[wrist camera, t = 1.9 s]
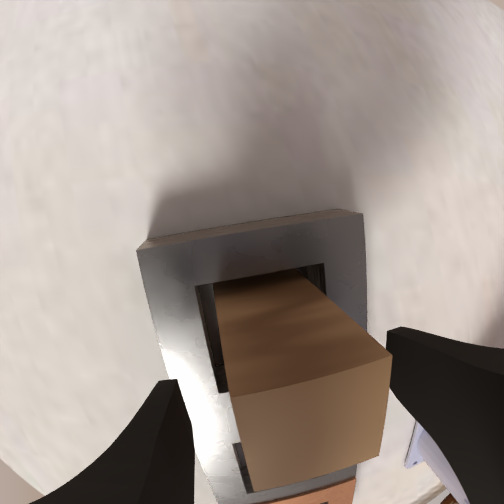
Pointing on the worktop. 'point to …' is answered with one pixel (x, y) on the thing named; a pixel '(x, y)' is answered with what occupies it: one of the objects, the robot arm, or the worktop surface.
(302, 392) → the peg
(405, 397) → the robot arm
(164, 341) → the rail
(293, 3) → the worktop surface
